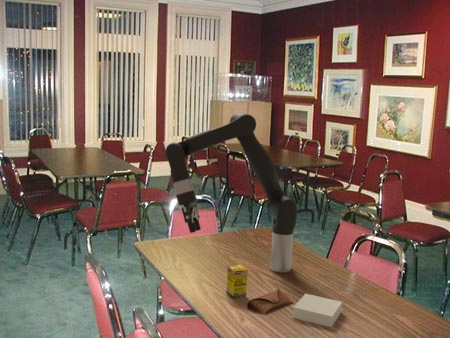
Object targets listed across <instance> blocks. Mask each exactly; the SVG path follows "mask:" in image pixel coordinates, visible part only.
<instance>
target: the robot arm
mask: <svg viewBox="0 0 450 338" xmlns="http://www.w3.org/2000/svg"><path fill="white" fill-rule="evenodd" d="M256 129H257V121H256V119H255V117H254V116H252V115H251V114H248V113H245V112H236V113H234V114H233V115H232V116H230V120H229V122H228V123H227V124H224V125H222V126H218V127H215V128H211V129H207V130H204V131H201V132H198V133H195V134H193V135H191V136H188V137H187V138H185V139H184V140H181V141H179V142H171V143H169V144H168V145H167V146H166V147H165V150H164V153H163V154H164V157H165V159H166V161H168V164H169V168H170V177H171V180H172V184H173V189H174V193H175V197H176V198H175V199H176V201H177V204H178V205H177V206H179V207H180V206H182V207H181V212H182V216H183V220H184V222H185V224H186V225H187V227H188V230H189V233H191V234H192V233H196V231H200V230H201V229H202V228H201V224H200V221H199V220H200V214H199V211H198V208H197V204H194V203H195V202H197V200H198V199H197V196H196V192H195V188H194V186H193V183H192V180H191V177H190V173H189V169H188V168H187V167H188V166H187V161H186V158H187V157H189V156H191V155H193V154H196V153H199V152H201V151H205V150H206V149H209V148H211V147H215V145H218V144H221V143H223V142H226V141H230V140H233V139H237V140H238V143H239V144H240V145H241V147H242V149H243V151H244V154H245V156H246V159H247V160H248V163H249V165H250V167H251V168H252V170H253V173H254V174H255V176H256V178H257V180H258V182H259V184H260V186H261V187H262V189H263V190H264V192H265V196H266V197H267V200H268V203H269V205H270V208H271V210H272V212H273V213H274V214H275V215H276V222H275V224H273V226H272V231H271V232H272V235H271V236H272V237H271V251H270V252H271V253H270V264H269V265H270V266H269V268H270V270H271V271H273V272H276V273H281V274H282V273H289V272H291V270H292V258H293V241H294V240H293V239H294V231H295V228H296V225H297V224H296V223H297V215H298V205H297V203H296V201H295V200H294V199H293V198H291V197H288V196H287V195H286V193H284V191H283V189H282V187H281V185H280V182H279V177H278V171H277V168H276V165H275V163H274V161H273V159H272V157H271V155H270V154H269V152H268V151H267V150H266V148H265V147H264V146H263V145H262V144H261V142H260V141H259V140H258V138H257V137H256V135H255V130H256Z"/></svg>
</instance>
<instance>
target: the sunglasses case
mask: <svg viewBox="0 0 450 338" xmlns="http://www.w3.org/2000/svg"><path fill="white" fill-rule="evenodd" d="M291 304H294V302H293V301H291V300H290V299H289V298H288V297H287V296H286V295H285V294H284V293H283V292H282V291H280V288H279V289H277V290H274V291H271V292H269V293H266V294H263V295H260V296H259V297H255V298H252V299H250V300H249V301H248V302H247V304H246V307H247V310H250V311H253V312H255V313H258V314H260V315H262V316H265V315H267V314H269V313H270V312H273V311H275V310H278V309H280V308H283V307H285V306H288V305H291Z"/></svg>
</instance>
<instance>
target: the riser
mask: <svg viewBox="0 0 450 338" xmlns="http://www.w3.org/2000/svg"><path fill="white" fill-rule="evenodd" d="M342 309H343V301H340V300H334V299H331V298H326V297H321V296H318V295H312V294H309V293H308V294H307V293H305V294H304V295H303V296H302V297H301V298H300V299H299V300H298V302H296V303H295V305H294V306H293V308H292V319H296V320H300V321H303V322H304V321H305V322H308V323H312V324H316V325H321V326H325V327H327V328H328V327H329V328H332V327H333V326H334V324H335V322H336V321H337V320H338V318H339V317H340V315H341V314H342V312H343V311H342ZM340 313H341V314H340Z"/></svg>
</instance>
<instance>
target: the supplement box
mask: <svg viewBox="0 0 450 338" xmlns="http://www.w3.org/2000/svg"><path fill="white" fill-rule="evenodd" d="M247 284H248V268H246V267H244V266H243V265H242V264H238V265H230V266H228V265H227V272H226V290H225V291H226V294H228V295H229V296H230V297H232V298H233V299H235V298H240V297H246V296H247V286H248V285H247Z"/></svg>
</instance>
